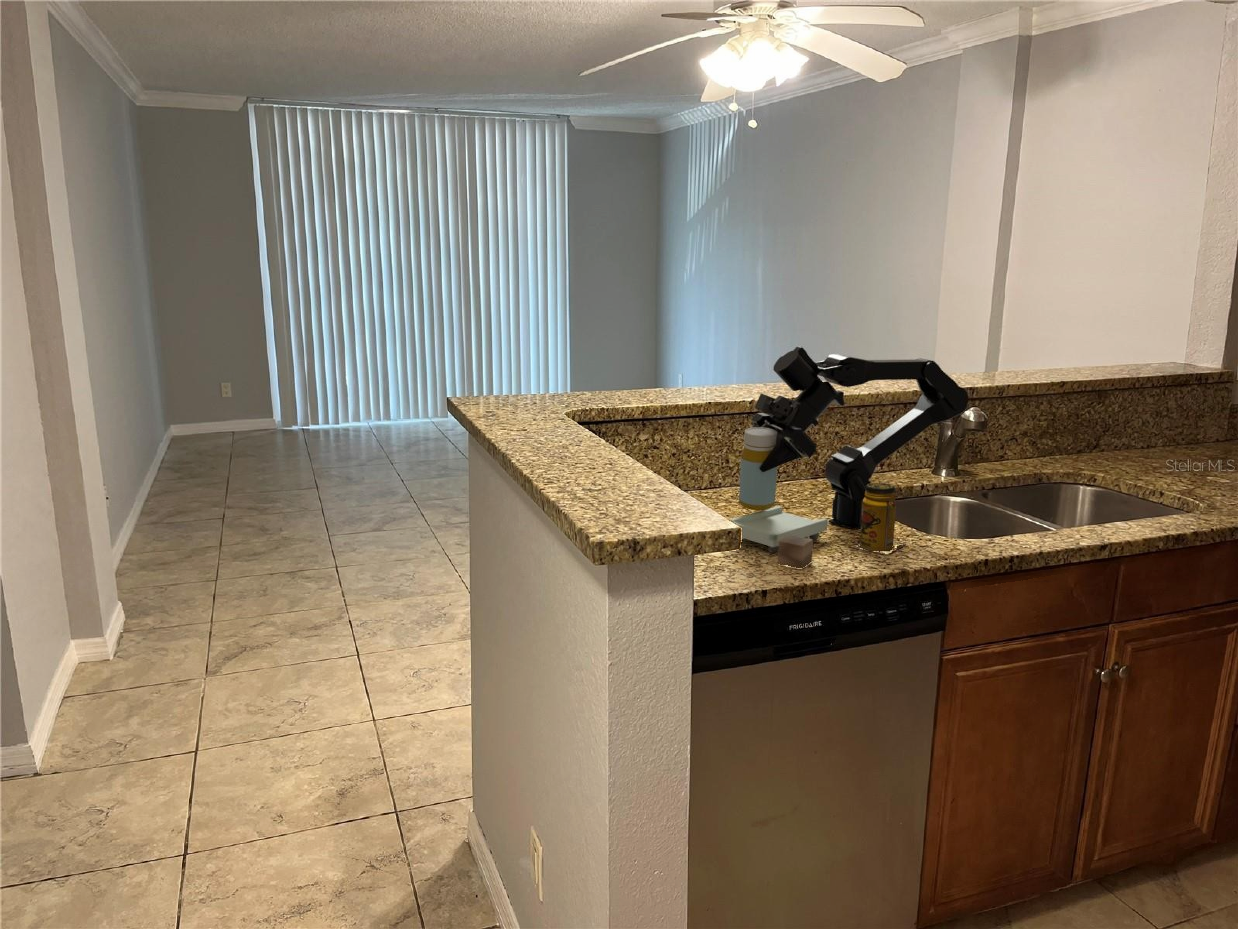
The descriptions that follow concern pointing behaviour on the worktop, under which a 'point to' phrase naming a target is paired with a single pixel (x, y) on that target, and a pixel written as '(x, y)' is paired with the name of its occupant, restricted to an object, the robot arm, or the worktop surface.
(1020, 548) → the worktop surface
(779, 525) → the tray
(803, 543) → the walnut block
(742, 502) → the bottle
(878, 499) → the condiment
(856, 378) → the robot arm
